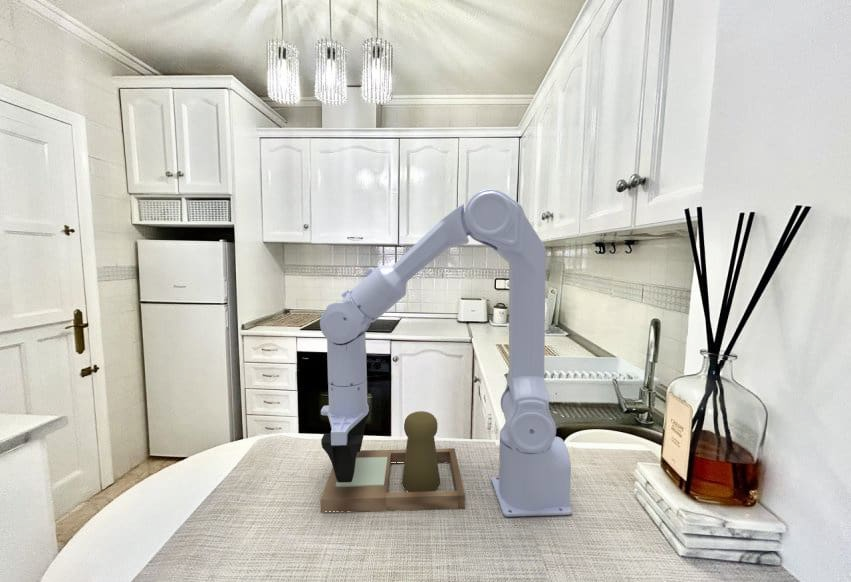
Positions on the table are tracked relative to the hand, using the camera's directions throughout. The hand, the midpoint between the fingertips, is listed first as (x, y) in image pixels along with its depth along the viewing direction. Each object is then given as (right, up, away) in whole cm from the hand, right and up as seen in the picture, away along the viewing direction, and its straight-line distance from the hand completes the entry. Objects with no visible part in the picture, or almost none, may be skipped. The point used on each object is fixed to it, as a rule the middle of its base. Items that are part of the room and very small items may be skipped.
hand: (349, 464), depth 54 cm
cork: (+11, -3, +1) cm, 11 cm away
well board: (+6, -3, +1) cm, 7 cm away
